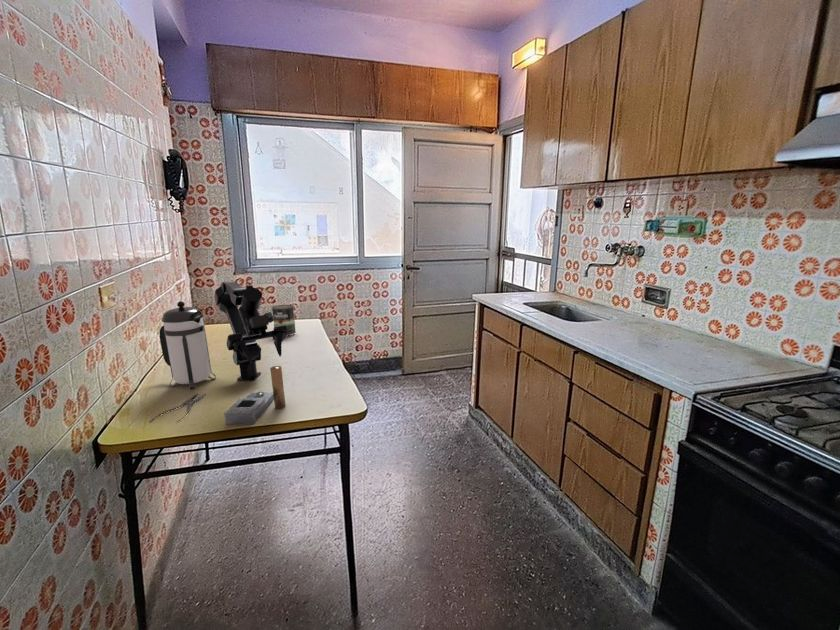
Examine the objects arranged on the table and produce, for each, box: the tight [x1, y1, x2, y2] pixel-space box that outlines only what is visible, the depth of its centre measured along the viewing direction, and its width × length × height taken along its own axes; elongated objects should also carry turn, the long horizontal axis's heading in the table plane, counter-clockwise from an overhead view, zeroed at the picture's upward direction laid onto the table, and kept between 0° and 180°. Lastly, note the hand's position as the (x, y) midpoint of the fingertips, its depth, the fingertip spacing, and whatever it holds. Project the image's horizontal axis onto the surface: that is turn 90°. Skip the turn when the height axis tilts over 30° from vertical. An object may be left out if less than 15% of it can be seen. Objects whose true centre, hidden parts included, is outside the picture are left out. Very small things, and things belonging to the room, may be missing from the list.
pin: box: [269, 365, 287, 410], centre depth 130 cm, size 3×3×13 cm
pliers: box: [149, 393, 207, 423], centre depth 132 cm, size 10×1×20 cm
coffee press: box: [158, 300, 217, 390], centre depth 149 cm, size 17×16×30 cm
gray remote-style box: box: [224, 391, 274, 426], centre depth 129 cm, size 18×8×4 cm, turn 179°
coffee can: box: [271, 304, 297, 337], centre depth 210 cm, size 10×10×14 cm
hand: (266, 359), depth 134 cm, fingers open, 9 cm apart
